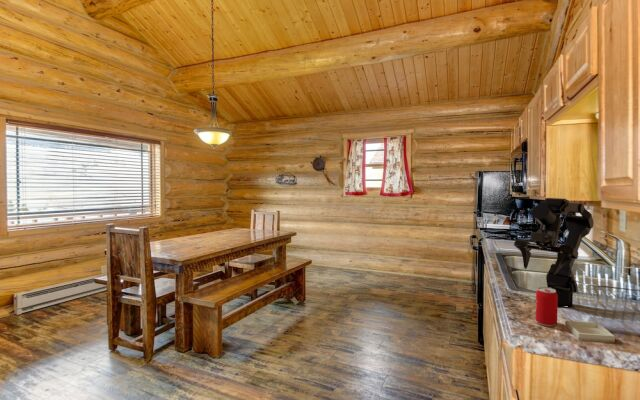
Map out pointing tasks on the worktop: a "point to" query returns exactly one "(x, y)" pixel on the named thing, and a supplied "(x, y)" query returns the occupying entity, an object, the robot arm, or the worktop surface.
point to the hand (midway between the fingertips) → (539, 271)
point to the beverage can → (546, 306)
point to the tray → (589, 331)
